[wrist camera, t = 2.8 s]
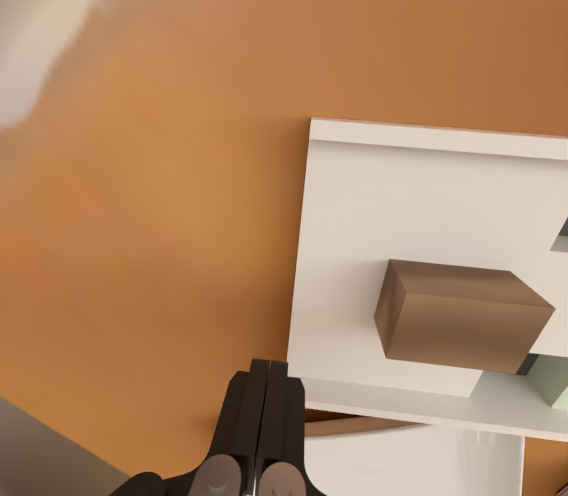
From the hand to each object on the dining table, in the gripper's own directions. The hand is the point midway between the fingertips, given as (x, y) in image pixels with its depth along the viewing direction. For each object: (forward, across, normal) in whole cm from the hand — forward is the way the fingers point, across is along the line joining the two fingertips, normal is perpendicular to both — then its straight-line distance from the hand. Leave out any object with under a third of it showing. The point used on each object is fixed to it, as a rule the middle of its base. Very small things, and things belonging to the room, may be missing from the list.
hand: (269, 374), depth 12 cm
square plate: (+11, -12, +27) cm, 31 cm away
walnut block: (+7, -10, 0) cm, 12 cm away
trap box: (+10, -15, 0) cm, 18 cm away
